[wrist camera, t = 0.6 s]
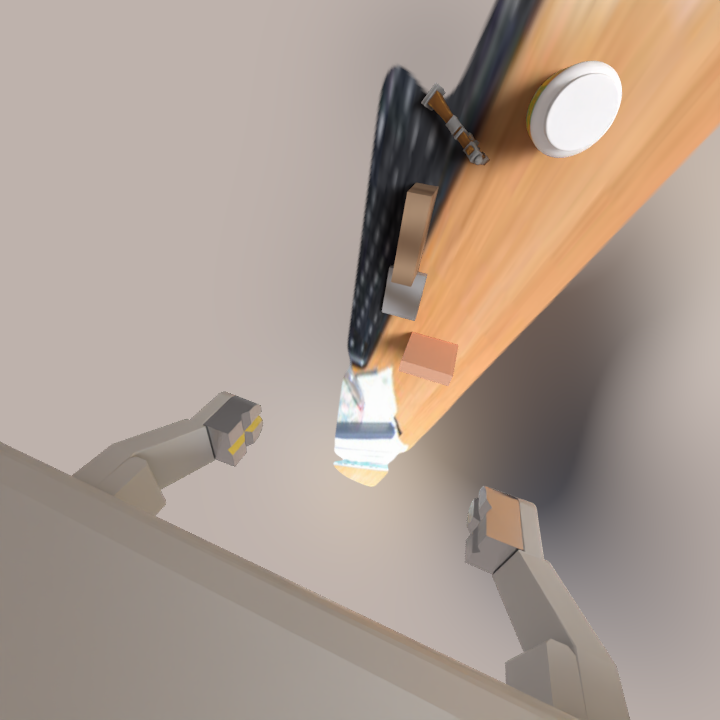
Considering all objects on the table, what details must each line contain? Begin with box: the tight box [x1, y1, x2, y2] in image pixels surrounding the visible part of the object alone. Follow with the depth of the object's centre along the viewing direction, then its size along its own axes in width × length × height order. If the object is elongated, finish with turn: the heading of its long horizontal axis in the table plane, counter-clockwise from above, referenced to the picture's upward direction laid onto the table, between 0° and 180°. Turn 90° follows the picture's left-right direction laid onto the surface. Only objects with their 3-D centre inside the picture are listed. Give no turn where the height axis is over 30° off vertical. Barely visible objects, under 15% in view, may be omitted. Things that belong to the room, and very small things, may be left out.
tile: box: [399, 332, 458, 386], centre depth 44 cm, size 2×7×7 cm, turn 85°
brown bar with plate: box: [382, 183, 438, 321], centre depth 38 cm, size 17×5×4 cm, turn 174°
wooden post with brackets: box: [421, 83, 490, 165], centre depth 29 cm, size 2×8×4 cm, turn 51°
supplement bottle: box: [526, 61, 622, 158], centre depth 23 cm, size 5×5×10 cm
